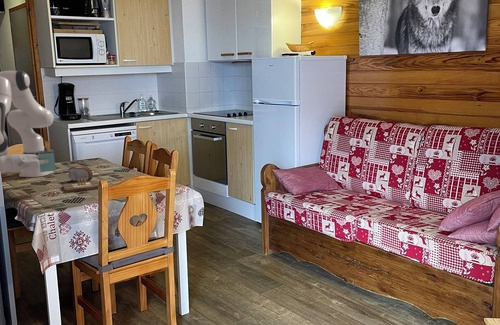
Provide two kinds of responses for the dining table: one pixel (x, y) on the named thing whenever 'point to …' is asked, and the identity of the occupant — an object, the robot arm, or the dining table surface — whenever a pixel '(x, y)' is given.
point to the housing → (51, 160)
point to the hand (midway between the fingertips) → (47, 159)
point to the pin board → (80, 186)
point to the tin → (80, 173)
